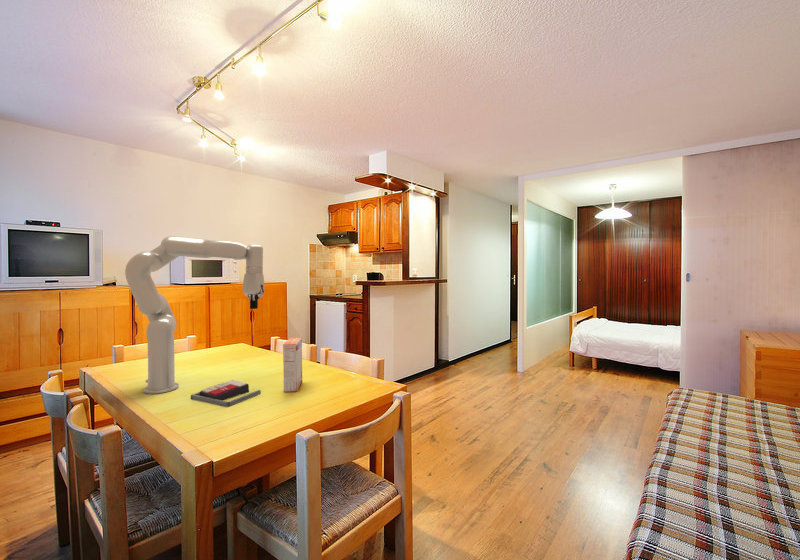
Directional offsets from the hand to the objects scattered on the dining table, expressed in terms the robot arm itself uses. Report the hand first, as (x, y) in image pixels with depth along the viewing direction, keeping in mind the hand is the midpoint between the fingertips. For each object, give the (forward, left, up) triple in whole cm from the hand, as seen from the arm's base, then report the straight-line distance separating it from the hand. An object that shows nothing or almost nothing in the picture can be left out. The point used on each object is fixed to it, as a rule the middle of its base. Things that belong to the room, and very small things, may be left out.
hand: (253, 308), depth 167 cm
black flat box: (+7, -22, -34) cm, 41 cm away
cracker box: (+26, -3, -34) cm, 43 cm away
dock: (+9, -23, -34) cm, 42 cm away
